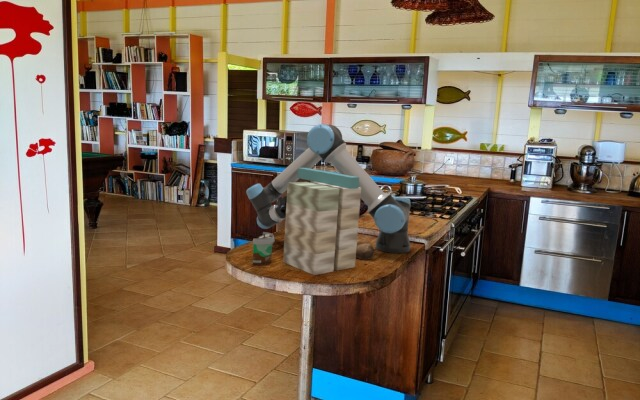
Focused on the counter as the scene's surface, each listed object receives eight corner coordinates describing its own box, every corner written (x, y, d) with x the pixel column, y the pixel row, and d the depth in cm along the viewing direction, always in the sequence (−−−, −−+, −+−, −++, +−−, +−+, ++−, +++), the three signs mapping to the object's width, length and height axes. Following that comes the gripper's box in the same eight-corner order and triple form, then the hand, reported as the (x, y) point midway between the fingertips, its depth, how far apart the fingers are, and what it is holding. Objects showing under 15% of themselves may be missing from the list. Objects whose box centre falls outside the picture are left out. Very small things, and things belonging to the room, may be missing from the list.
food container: (267, 267, 180) (269, 240, 179) (251, 265, 181) (252, 238, 180) (277, 258, 192) (279, 233, 191) (262, 257, 193) (263, 231, 192)
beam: (297, 177, 201) (298, 167, 200) (305, 177, 203) (305, 167, 203) (350, 188, 179) (351, 177, 178) (358, 188, 181) (359, 177, 181)
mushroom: (363, 246, 208) (364, 236, 203) (377, 257, 204) (378, 247, 199) (349, 256, 204) (350, 247, 200) (364, 268, 200) (365, 258, 196)
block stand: (283, 262, 188) (287, 182, 184) (322, 255, 202) (328, 181, 197) (314, 275, 175) (320, 189, 170) (354, 267, 188) (361, 187, 184)
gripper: (306, 216, 220) (337, 199, 205) (259, 221, 204) (288, 202, 189) (302, 200, 222) (332, 182, 207) (255, 203, 205) (283, 184, 190)
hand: (311, 191), depth 198 cm, fingers open, 13 cm apart
